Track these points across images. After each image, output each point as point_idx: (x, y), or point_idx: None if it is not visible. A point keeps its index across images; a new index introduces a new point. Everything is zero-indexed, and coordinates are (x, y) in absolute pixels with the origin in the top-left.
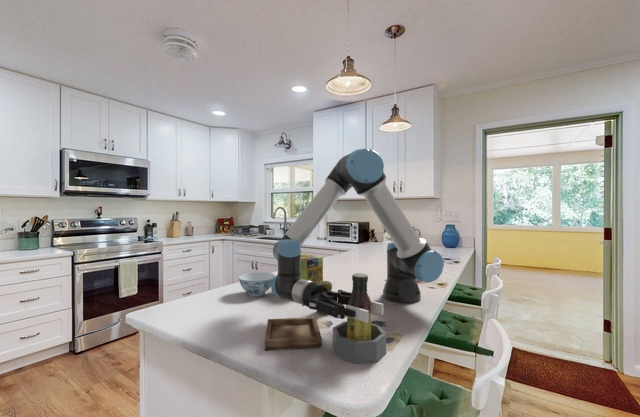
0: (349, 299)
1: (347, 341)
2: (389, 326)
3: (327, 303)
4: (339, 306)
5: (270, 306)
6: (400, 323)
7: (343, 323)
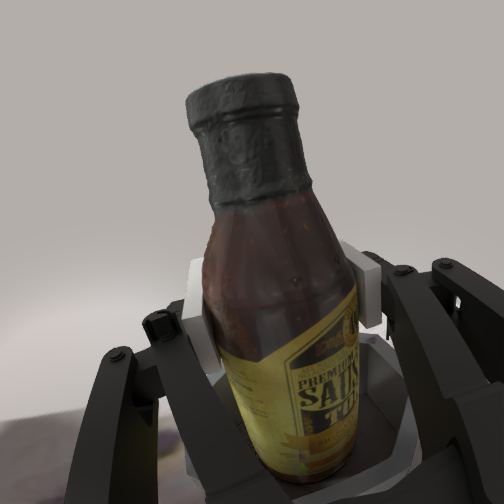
0: (334, 257)
1: (395, 352)
2: (62, 482)
3: (497, 306)
4: (419, 276)
5: None
6: (31, 463)
7: (310, 500)
